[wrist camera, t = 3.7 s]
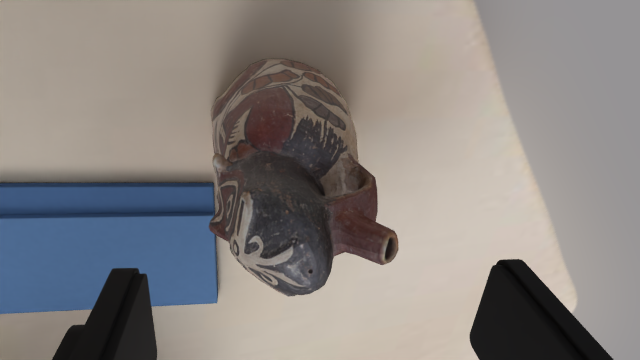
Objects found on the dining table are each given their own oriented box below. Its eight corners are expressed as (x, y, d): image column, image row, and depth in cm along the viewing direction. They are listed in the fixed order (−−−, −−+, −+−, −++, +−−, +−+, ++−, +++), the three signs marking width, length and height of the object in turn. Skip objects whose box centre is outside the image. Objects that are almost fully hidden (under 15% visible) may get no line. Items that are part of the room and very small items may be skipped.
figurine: (204, 58, 20) (156, 160, 10) (348, 55, 21) (450, 145, 11) (218, 188, 23) (196, 373, 13) (343, 181, 24) (417, 345, 14)
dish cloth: (-223, 182, 20) (-243, 191, 19) (213, 182, 23) (212, 190, 22) (-151, 310, 23) (-165, 322, 22) (218, 293, 27) (217, 303, 26)
